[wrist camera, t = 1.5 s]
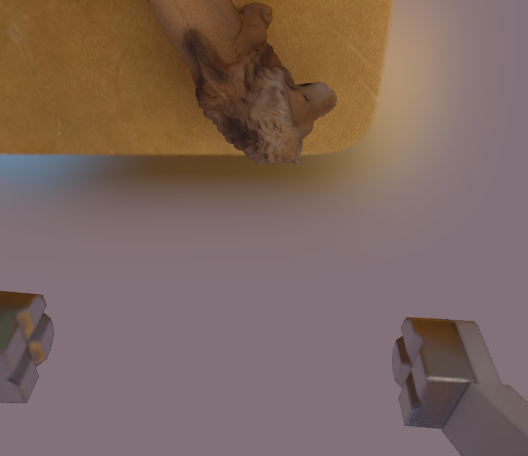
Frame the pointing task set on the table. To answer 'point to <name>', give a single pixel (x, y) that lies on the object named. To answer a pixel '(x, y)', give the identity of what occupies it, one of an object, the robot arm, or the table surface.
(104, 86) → the table surface
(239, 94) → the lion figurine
